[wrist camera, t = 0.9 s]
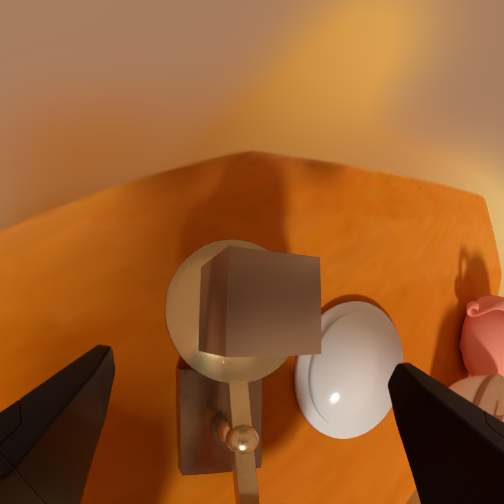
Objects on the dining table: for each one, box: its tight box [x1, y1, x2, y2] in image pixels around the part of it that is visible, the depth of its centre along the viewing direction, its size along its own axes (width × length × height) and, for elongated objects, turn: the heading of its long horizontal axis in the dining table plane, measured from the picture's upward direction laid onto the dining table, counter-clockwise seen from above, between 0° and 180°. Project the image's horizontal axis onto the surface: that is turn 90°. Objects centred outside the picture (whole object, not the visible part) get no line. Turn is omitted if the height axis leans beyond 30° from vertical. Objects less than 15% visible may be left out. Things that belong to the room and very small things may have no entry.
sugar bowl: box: [459, 295, 504, 376], centre depth 32 cm, size 12×14×10 cm
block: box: [198, 246, 321, 357], centre depth 17 cm, size 5×5×5 cm
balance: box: [165, 239, 289, 504], centre depth 18 cm, size 25×9×8 cm, turn 179°
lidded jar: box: [448, 374, 504, 422], centre depth 27 cm, size 11×11×9 cm
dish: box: [294, 301, 403, 439], centre depth 26 cm, size 13×13×1 cm
